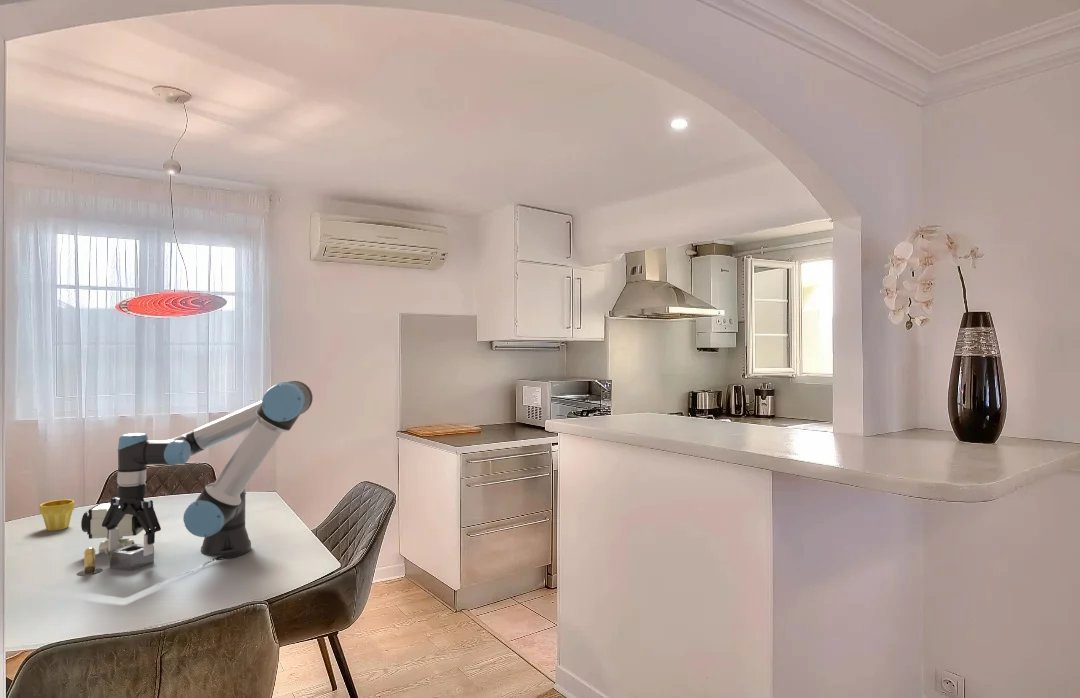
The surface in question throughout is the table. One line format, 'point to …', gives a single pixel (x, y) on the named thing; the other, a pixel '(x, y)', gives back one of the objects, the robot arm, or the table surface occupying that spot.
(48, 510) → the plant pot
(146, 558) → the grey square box
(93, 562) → the door knob
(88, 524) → the ball valve
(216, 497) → the robot arm
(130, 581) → the table surface
